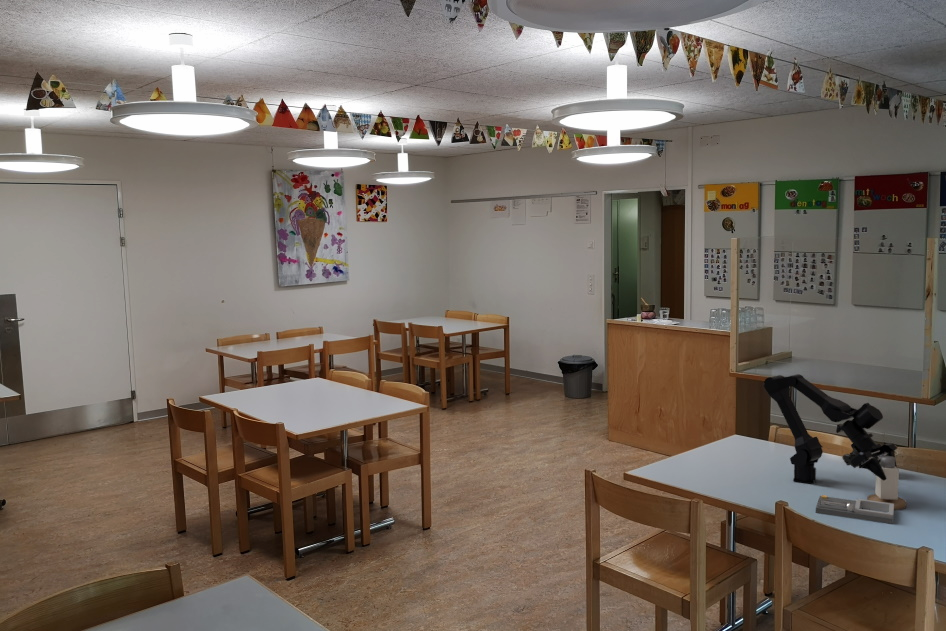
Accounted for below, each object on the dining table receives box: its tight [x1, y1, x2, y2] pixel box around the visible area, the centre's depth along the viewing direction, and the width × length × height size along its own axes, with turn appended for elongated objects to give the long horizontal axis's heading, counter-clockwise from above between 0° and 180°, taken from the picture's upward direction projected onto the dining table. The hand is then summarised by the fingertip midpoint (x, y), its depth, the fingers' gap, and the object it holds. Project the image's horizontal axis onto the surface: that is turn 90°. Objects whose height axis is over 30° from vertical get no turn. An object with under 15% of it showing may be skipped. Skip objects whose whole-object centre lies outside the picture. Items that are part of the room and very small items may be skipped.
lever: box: [817, 499, 853, 512], centre depth 232 cm, size 10×2×4 cm, turn 59°
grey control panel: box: [815, 494, 895, 525], centre depth 234 cm, size 21×12×3 cm, turn 59°
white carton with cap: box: [874, 455, 900, 500], centre depth 239 cm, size 5×5×13 cm
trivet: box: [866, 493, 907, 511], centre depth 240 cm, size 11×11×1 cm
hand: (891, 477), depth 238 cm, fingers closed on white carton with cap, 7 cm apart
